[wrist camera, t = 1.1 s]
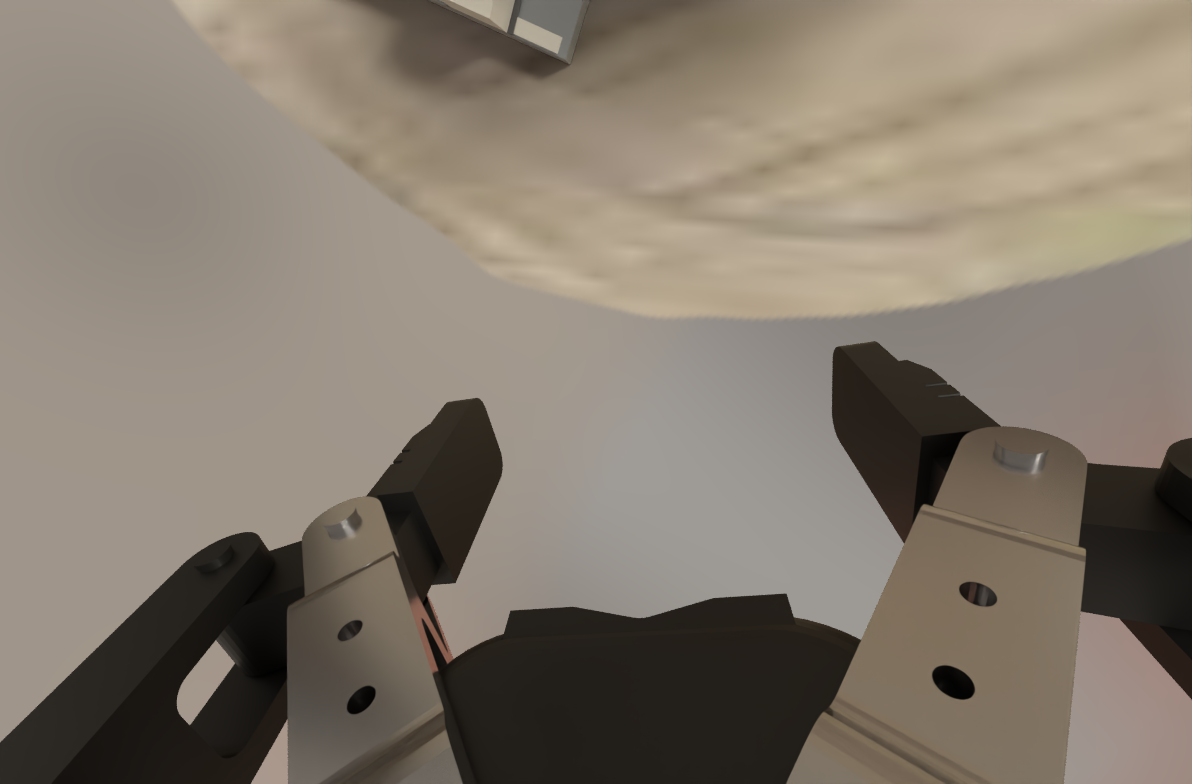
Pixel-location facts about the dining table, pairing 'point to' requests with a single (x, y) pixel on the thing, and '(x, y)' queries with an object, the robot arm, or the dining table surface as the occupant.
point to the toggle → (486, 11)
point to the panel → (543, 25)
